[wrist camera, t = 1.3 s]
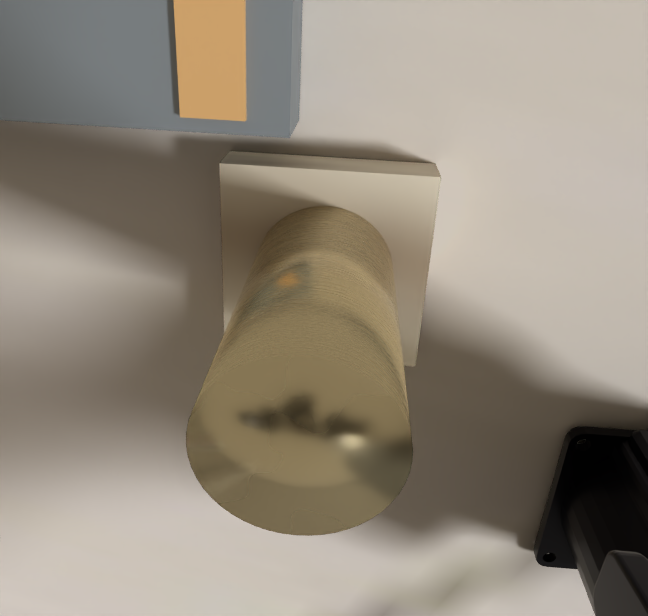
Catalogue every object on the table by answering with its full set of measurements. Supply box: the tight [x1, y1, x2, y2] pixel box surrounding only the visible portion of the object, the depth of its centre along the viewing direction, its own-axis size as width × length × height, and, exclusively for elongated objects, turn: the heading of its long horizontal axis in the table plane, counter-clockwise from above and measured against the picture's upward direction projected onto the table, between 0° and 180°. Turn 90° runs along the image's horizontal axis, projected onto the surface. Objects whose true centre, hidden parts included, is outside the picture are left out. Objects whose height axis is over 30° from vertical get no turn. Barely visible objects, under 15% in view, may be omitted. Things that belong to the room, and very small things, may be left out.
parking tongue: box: [219, 151, 441, 367], centre depth 19 cm, size 6×6×2 cm
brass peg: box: [186, 206, 413, 536], centre depth 14 cm, size 4×4×8 cm
